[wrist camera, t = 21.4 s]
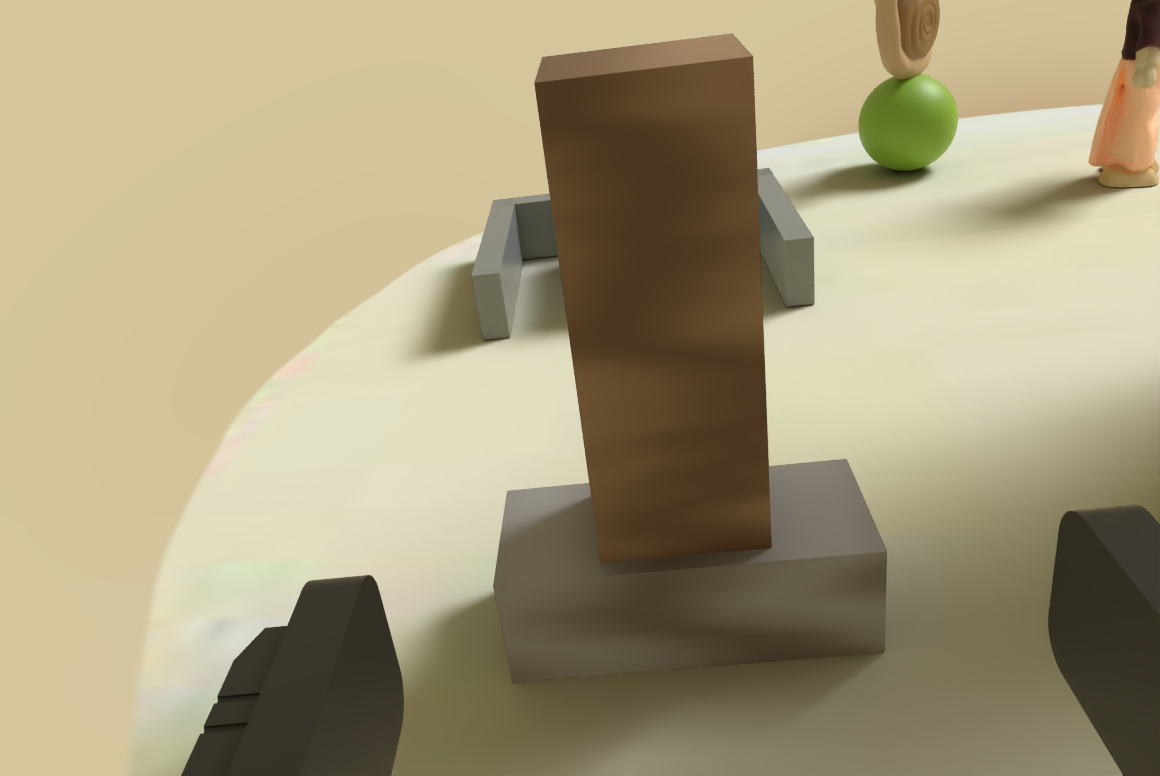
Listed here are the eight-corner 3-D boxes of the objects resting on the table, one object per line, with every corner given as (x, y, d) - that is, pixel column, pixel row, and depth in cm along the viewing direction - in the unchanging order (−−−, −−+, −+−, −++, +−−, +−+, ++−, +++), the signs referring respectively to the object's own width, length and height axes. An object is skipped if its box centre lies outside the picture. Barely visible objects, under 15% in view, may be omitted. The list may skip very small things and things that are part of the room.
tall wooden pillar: (846, 551, 27) (848, 15, 21) (884, 652, 24) (900, 43, 17) (523, 579, 28) (429, 67, 21) (512, 682, 24) (396, 104, 18)
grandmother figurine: (1079, 159, 55) (1106, -89, 50) (1157, 157, 54) (1194, -98, 48) (1094, 201, 49) (1128, -77, 43) (1182, 200, 48) (1229, -87, 42)
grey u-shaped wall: (770, 223, 52) (768, 167, 51) (814, 303, 42) (813, 237, 41) (502, 254, 53) (493, 200, 52) (483, 340, 43) (471, 275, 42)
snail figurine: (832, 182, 57) (832, -41, 52) (884, 153, 61) (888, -56, 56) (922, 191, 54) (931, -46, 48) (970, 160, 58) (984, -62, 52)
